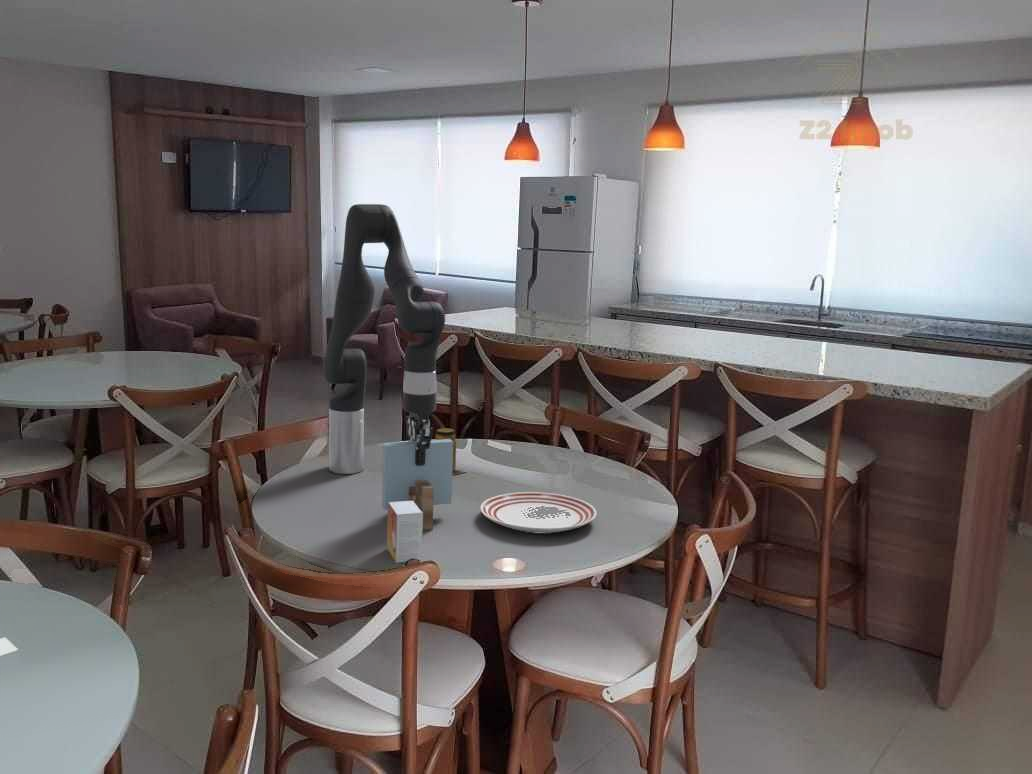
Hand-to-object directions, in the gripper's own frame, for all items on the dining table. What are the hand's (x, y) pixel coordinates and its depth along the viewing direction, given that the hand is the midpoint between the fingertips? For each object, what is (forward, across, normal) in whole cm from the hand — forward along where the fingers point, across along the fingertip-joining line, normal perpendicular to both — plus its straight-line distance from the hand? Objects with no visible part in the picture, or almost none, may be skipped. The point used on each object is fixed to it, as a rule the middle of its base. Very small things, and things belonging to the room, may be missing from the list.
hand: (418, 463), depth 202 cm
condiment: (+14, +33, -19) cm, 40 cm away
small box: (+14, -20, +9) cm, 26 cm away
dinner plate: (+14, -9, -27) cm, 32 cm away
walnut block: (+13, 0, 0) cm, 13 cm away
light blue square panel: (+10, 0, 0) cm, 10 cm away
